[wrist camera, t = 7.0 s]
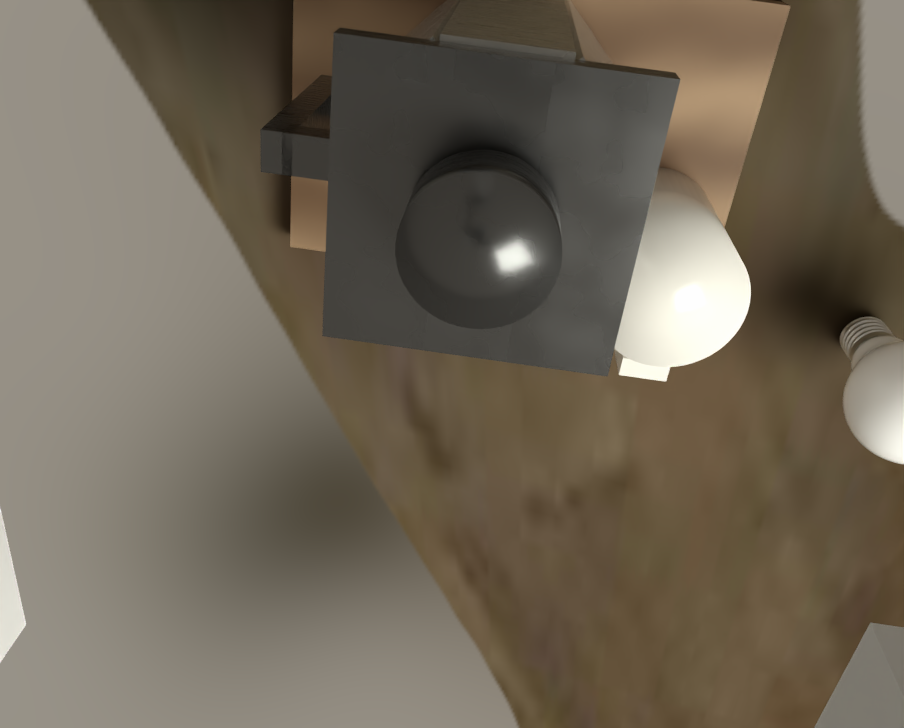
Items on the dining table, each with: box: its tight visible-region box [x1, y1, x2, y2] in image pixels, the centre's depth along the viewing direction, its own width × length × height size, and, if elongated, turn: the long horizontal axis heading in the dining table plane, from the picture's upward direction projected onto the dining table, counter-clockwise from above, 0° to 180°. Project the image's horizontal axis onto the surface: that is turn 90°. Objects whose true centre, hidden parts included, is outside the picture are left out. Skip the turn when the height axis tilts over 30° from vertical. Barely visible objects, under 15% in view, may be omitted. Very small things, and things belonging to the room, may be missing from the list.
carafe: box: [261, 0, 680, 376], centre depth 35 cm, size 11×14×18 cm
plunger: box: [395, 150, 562, 329], centre depth 32 cm, size 8×8×18 cm
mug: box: [614, 168, 751, 381], centre depth 42 cm, size 9×7×9 cm
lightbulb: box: [840, 317, 904, 464], centre depth 44 cm, size 6×6×11 cm
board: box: [290, 0, 791, 252], centre depth 44 cm, size 16×24×2 cm, turn 84°
